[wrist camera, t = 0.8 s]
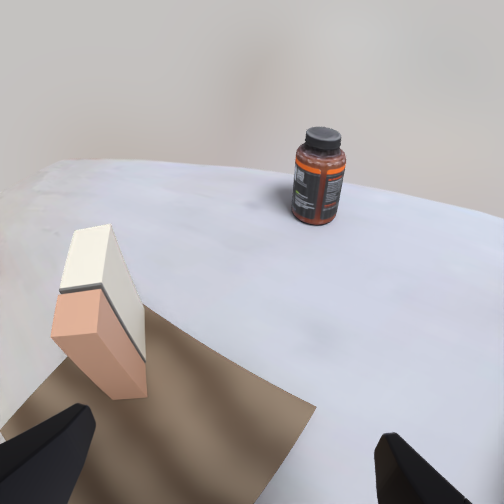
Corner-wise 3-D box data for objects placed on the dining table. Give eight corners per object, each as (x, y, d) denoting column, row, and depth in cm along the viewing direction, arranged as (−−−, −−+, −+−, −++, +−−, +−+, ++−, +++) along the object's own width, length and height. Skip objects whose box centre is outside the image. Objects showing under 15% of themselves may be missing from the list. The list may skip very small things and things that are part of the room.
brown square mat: (170, 595, 10) (166, 599, 10) (7, 434, 18) (-1, 430, 17) (313, 411, 22) (316, 407, 22) (133, 302, 30) (130, 294, 29)
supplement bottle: (341, 207, 41) (356, 131, 33) (327, 233, 37) (343, 149, 30) (300, 194, 43) (308, 119, 35) (283, 217, 40) (289, 134, 32)
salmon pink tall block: (147, 397, 22) (96, 332, 14) (112, 400, 21) (50, 337, 14) (145, 364, 24) (100, 288, 17) (112, 367, 23) (58, 294, 16)
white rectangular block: (146, 362, 24) (101, 284, 17) (113, 365, 24) (59, 291, 16) (144, 308, 28) (111, 223, 21) (115, 312, 28) (74, 230, 20)
